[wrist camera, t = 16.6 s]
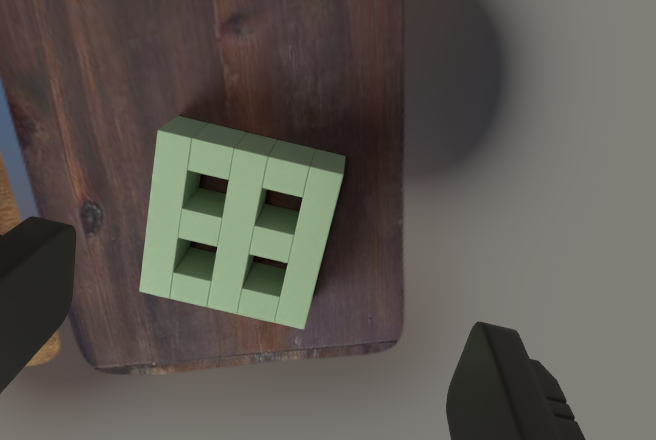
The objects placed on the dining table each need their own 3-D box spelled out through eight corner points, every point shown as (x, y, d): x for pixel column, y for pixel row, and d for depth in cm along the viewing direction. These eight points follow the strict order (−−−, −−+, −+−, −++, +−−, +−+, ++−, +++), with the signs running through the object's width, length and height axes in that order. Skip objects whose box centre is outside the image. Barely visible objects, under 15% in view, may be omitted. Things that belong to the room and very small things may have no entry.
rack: (345, 155, 47) (343, 174, 43) (309, 299, 53) (304, 330, 48) (177, 115, 47) (157, 129, 42) (158, 264, 52) (138, 291, 48)
